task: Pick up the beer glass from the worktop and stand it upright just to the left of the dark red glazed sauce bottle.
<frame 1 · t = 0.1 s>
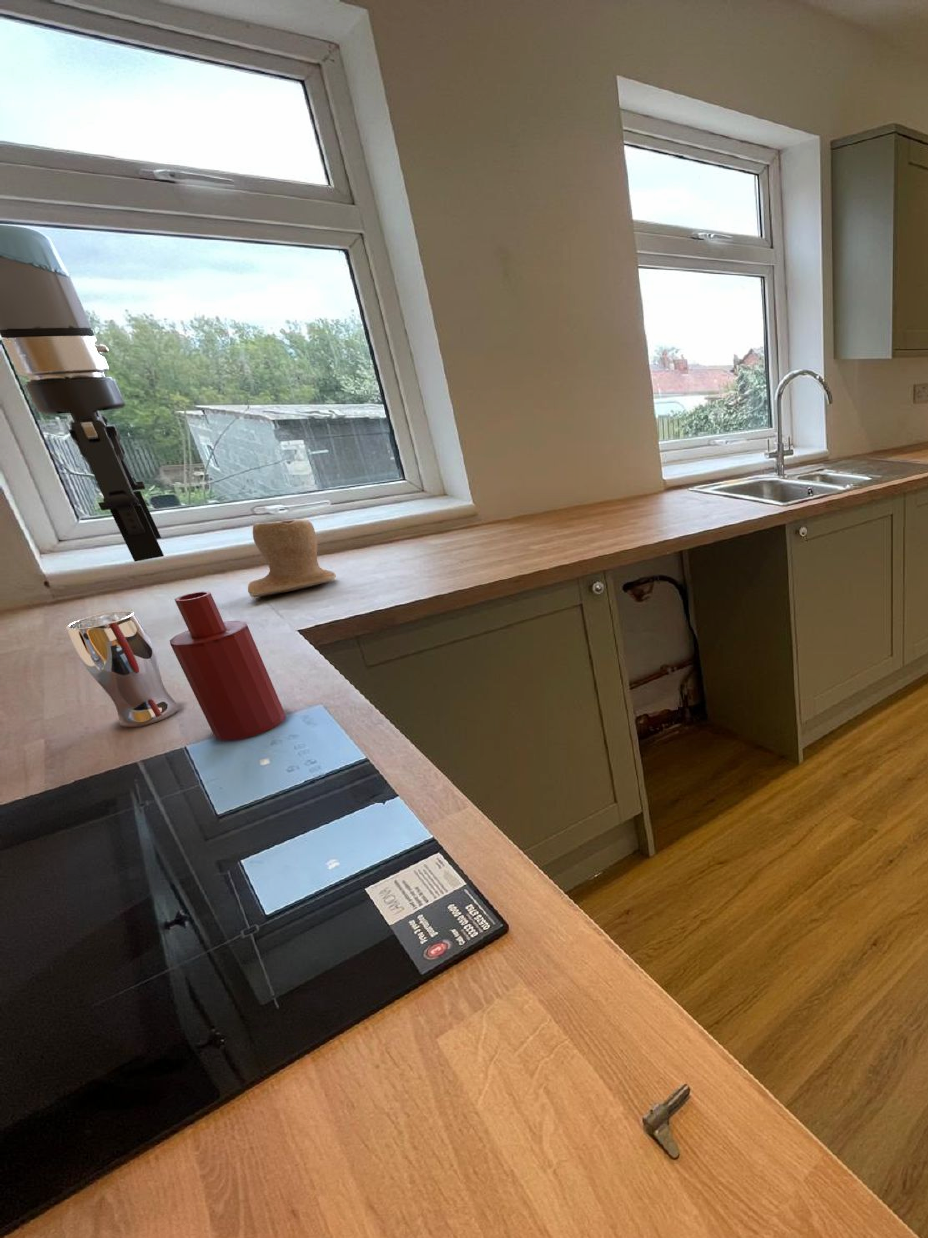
hand: (148, 549, 88), 24 cm above the worktop, tool pointing down, fingers open, 13 cm apart
brown top hat: (295, 588, 147), on the worktop
sauce bottle: (251, 725, 92), on the worktop
beer glass: (151, 717, 96), on the worktop
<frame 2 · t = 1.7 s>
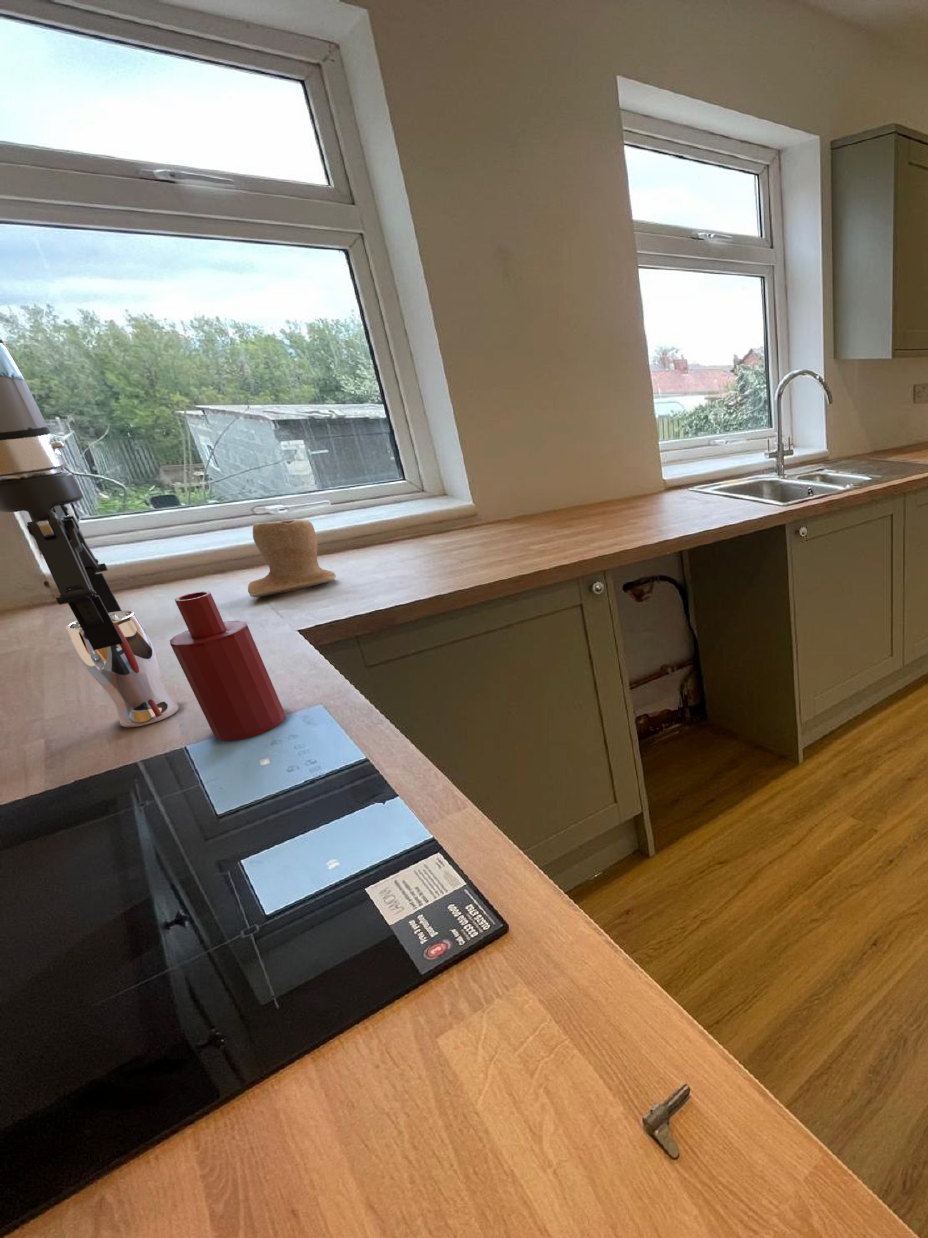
hand: (110, 632, 91), 13 cm above the worktop, tool pointing down, fingers open, 13 cm apart
nothing on the worktop moved.
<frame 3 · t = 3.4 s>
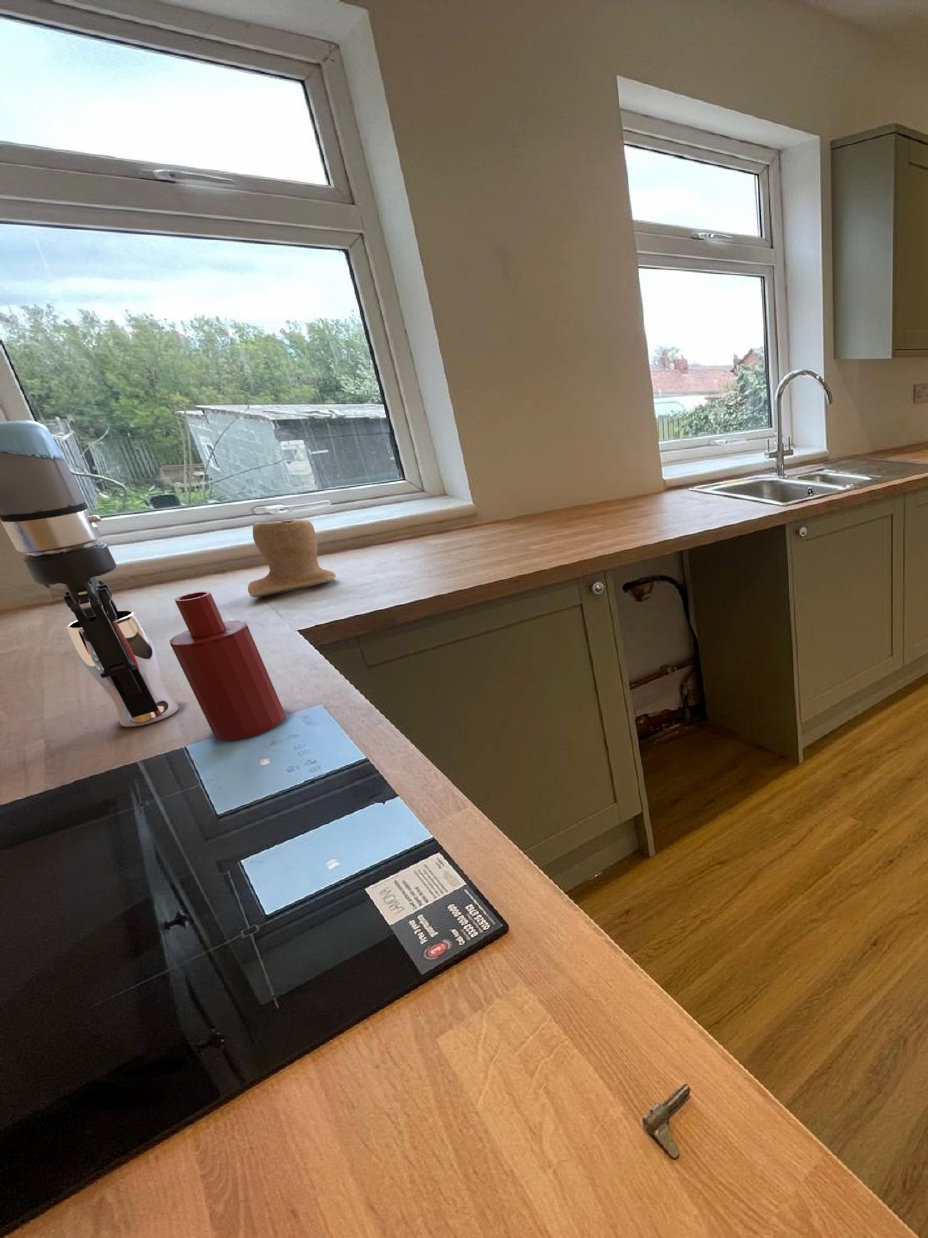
hand: (145, 704, 95), 2 cm above the worktop, tool pointing down, fingers closed on beer glass, 6 cm apart
beer glass: (151, 717, 96), on the worktop, touching gripper
everything else where it was.
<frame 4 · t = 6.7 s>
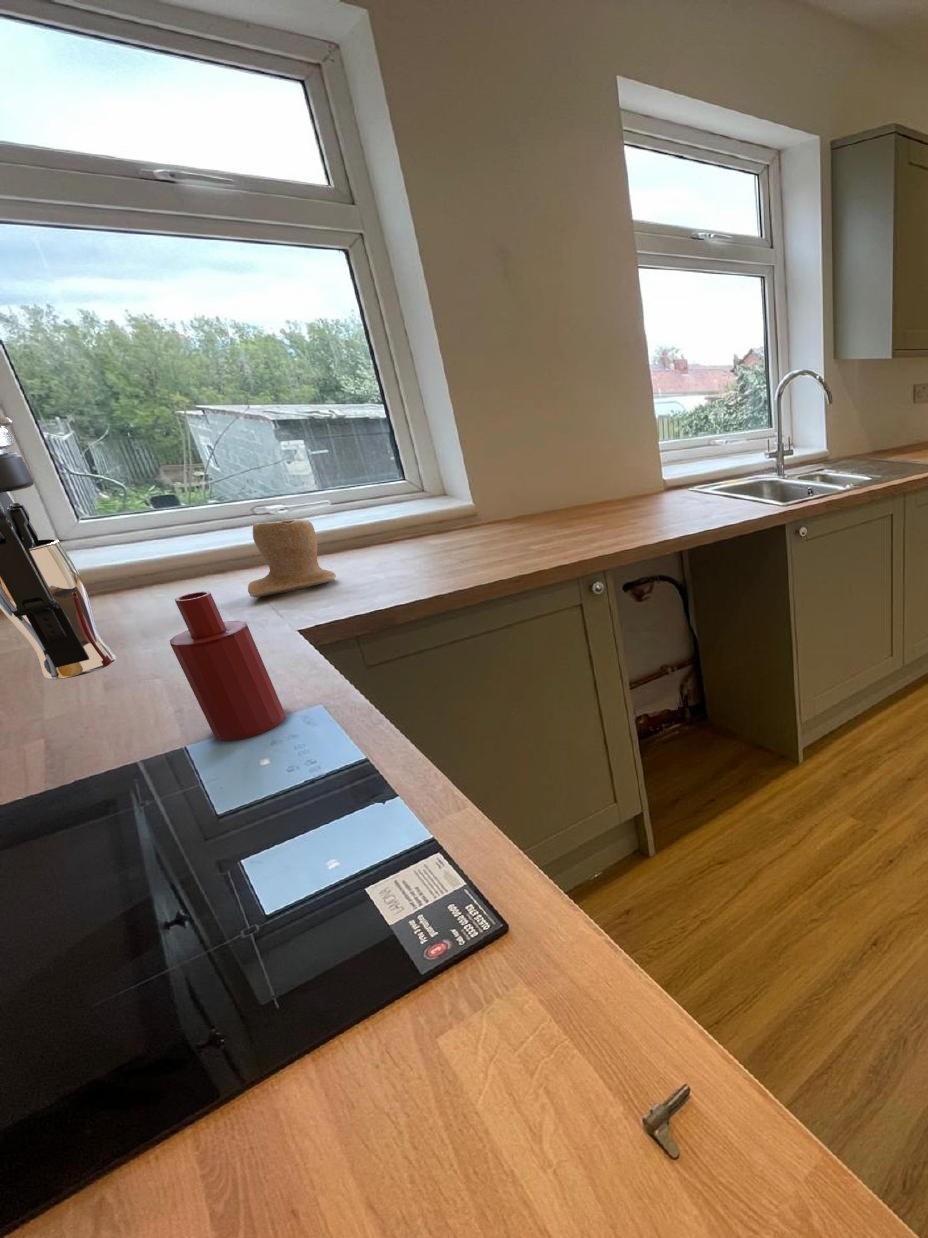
hand: (74, 654, 79), 15 cm above the worktop, tool pointing down, fingers closed on beer glass, 6 cm apart
beer glass: (82, 669, 80), point 13 cm above the worktop, touching gripper
everything else where it was.
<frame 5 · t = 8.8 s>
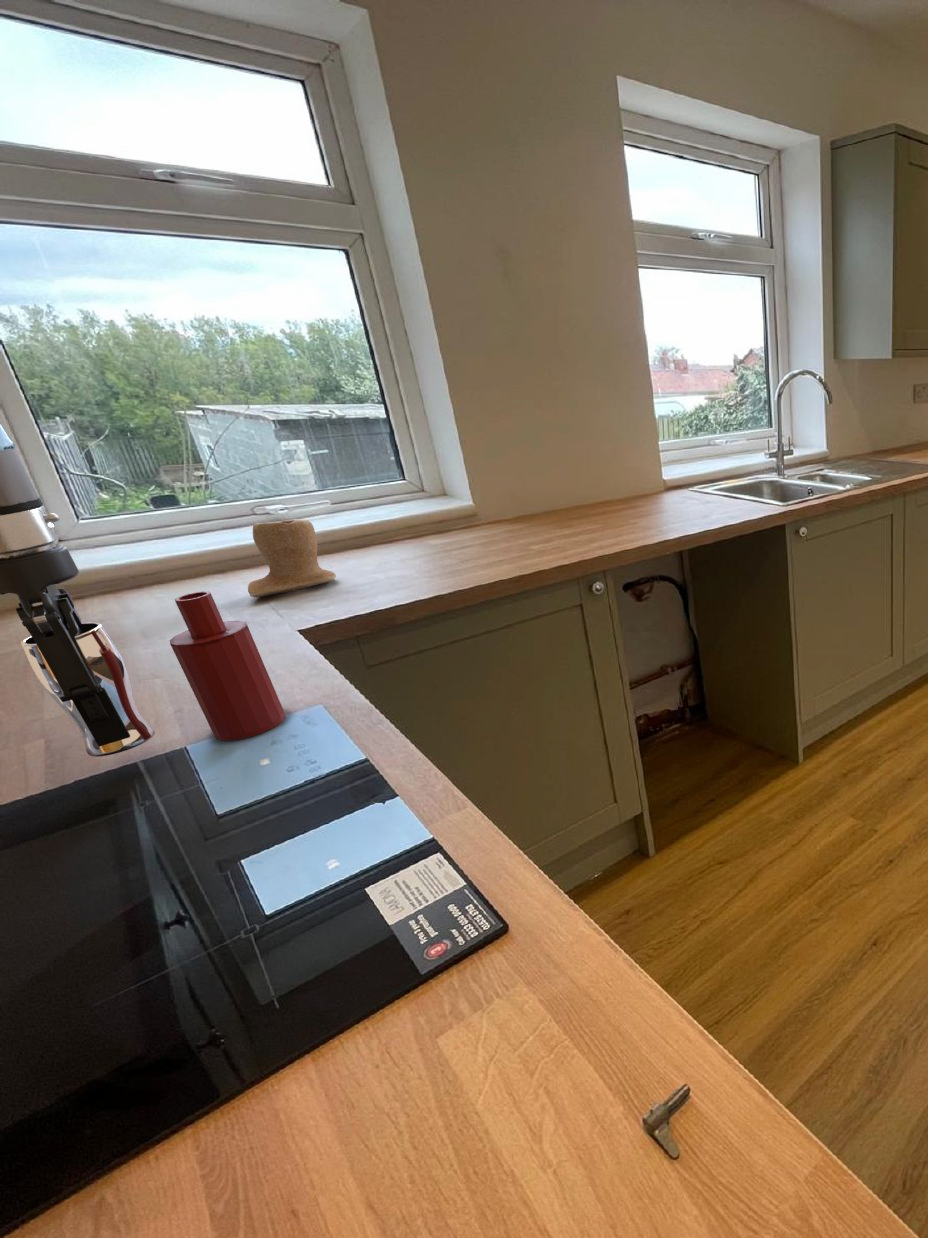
hand: (115, 730, 83), 5 cm above the worktop, tool pointing down, fingers closed on beer glass, 6 cm apart
beer glass: (123, 744, 84), point 3 cm above the worktop, touching gripper
everything else where it was.
when the fingers open (2 cm above the worktop, at t = 10.0 s): beer glass stays where it is, on the worktop.
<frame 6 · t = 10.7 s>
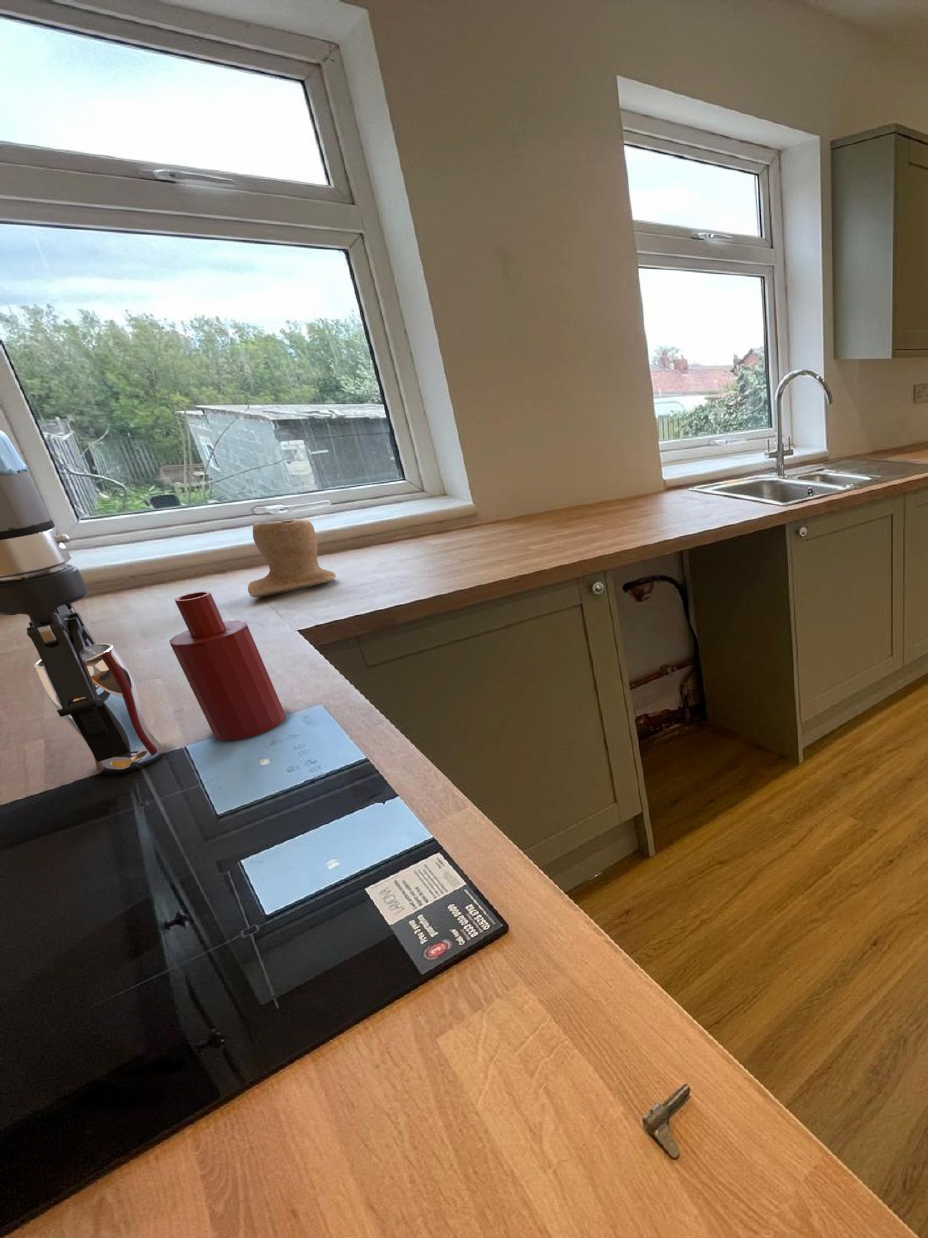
hand: (115, 735, 83), 4 cm above the worktop, tool pointing down, fingers open, 13 cm apart
beer glass: (133, 763, 85), on the worktop
everything else where it was.
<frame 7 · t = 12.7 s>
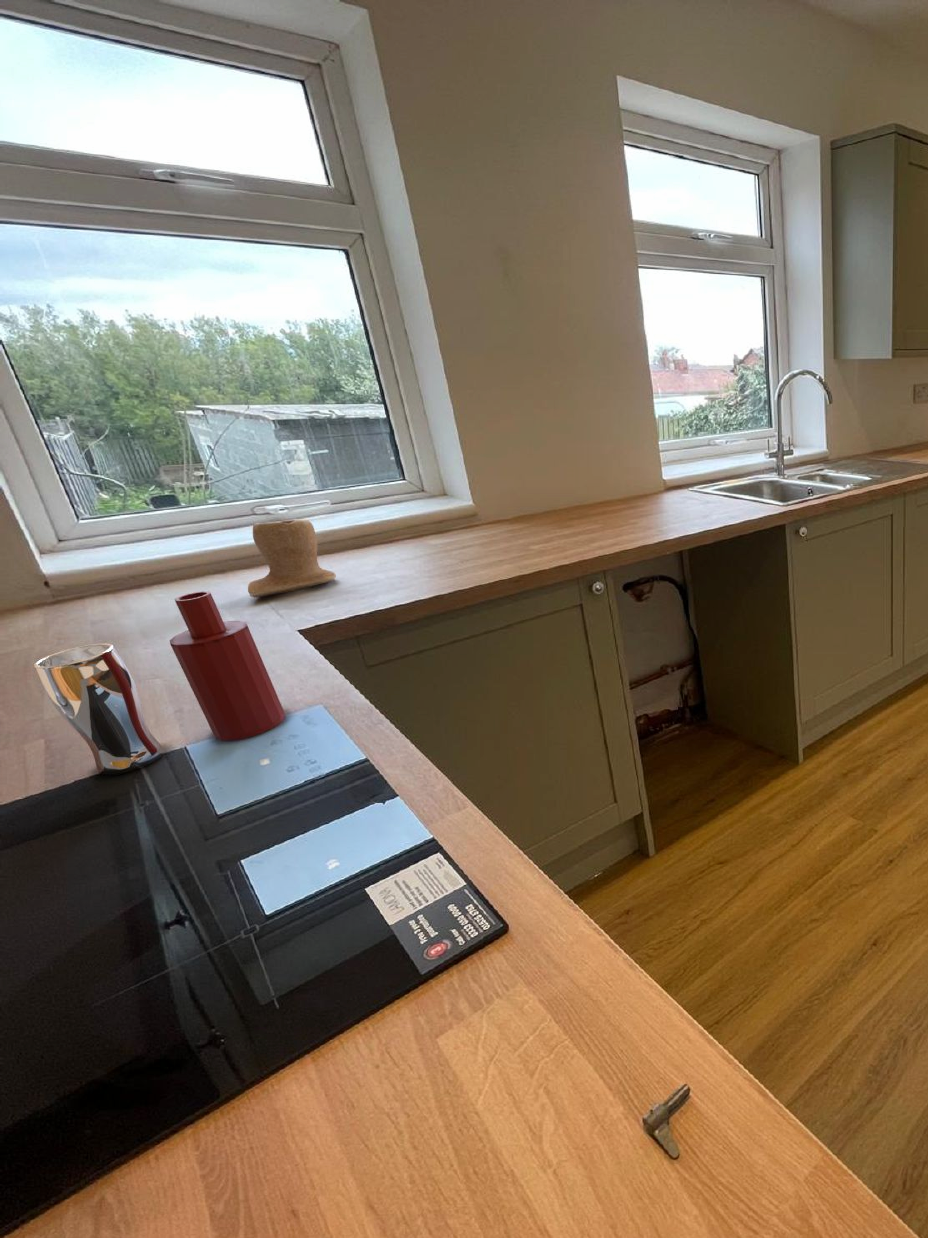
nothing on the worktop moved.
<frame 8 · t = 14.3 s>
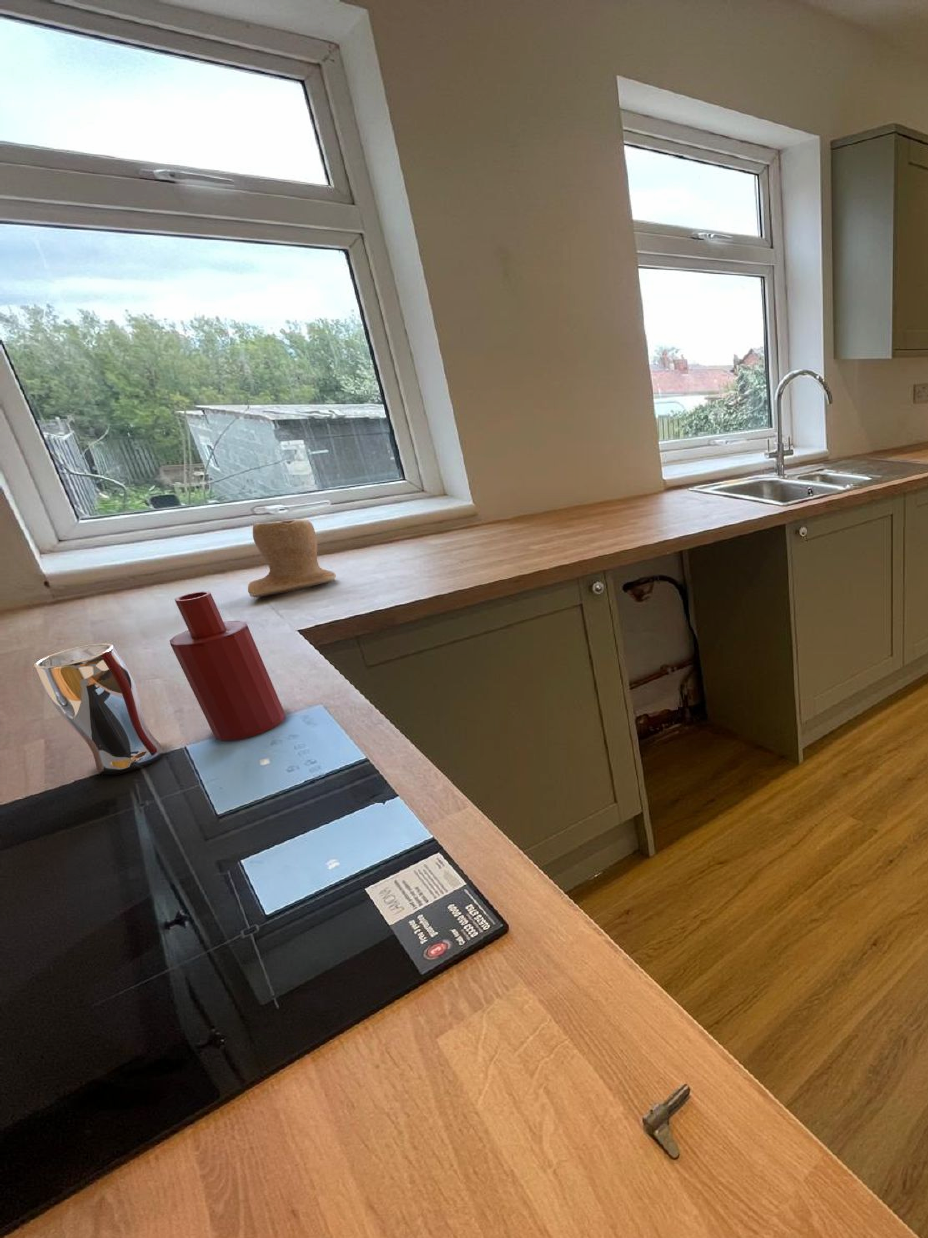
nothing on the worktop moved.
at the end: beer glass inside the target area (0.6 cm from its centre), on the worktop; beer glass tilted 0°; the gripper is holding nothing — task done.
